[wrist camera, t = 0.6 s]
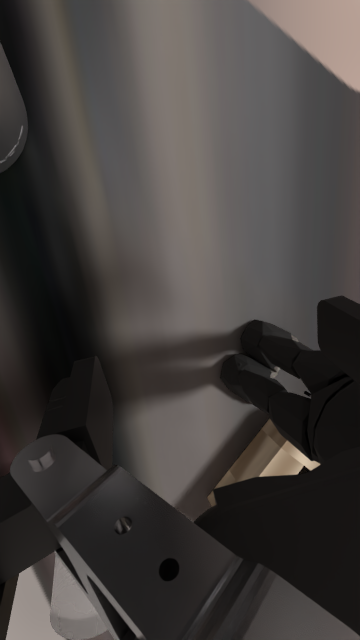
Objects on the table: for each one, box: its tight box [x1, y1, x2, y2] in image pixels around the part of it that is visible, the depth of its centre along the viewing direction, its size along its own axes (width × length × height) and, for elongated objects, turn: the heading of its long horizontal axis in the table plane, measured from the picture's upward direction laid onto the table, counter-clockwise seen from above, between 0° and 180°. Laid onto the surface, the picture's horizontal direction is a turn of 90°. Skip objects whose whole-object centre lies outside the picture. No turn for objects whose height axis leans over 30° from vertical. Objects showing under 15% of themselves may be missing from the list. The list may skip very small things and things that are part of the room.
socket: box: [207, 419, 321, 507], centre depth 38 cm, size 14×14×4 cm
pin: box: [50, 555, 108, 640], centre depth 26 cm, size 4×4×14 cm
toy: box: [220, 320, 360, 464], centre depth 22 cm, size 30×8×30 cm, turn 148°
